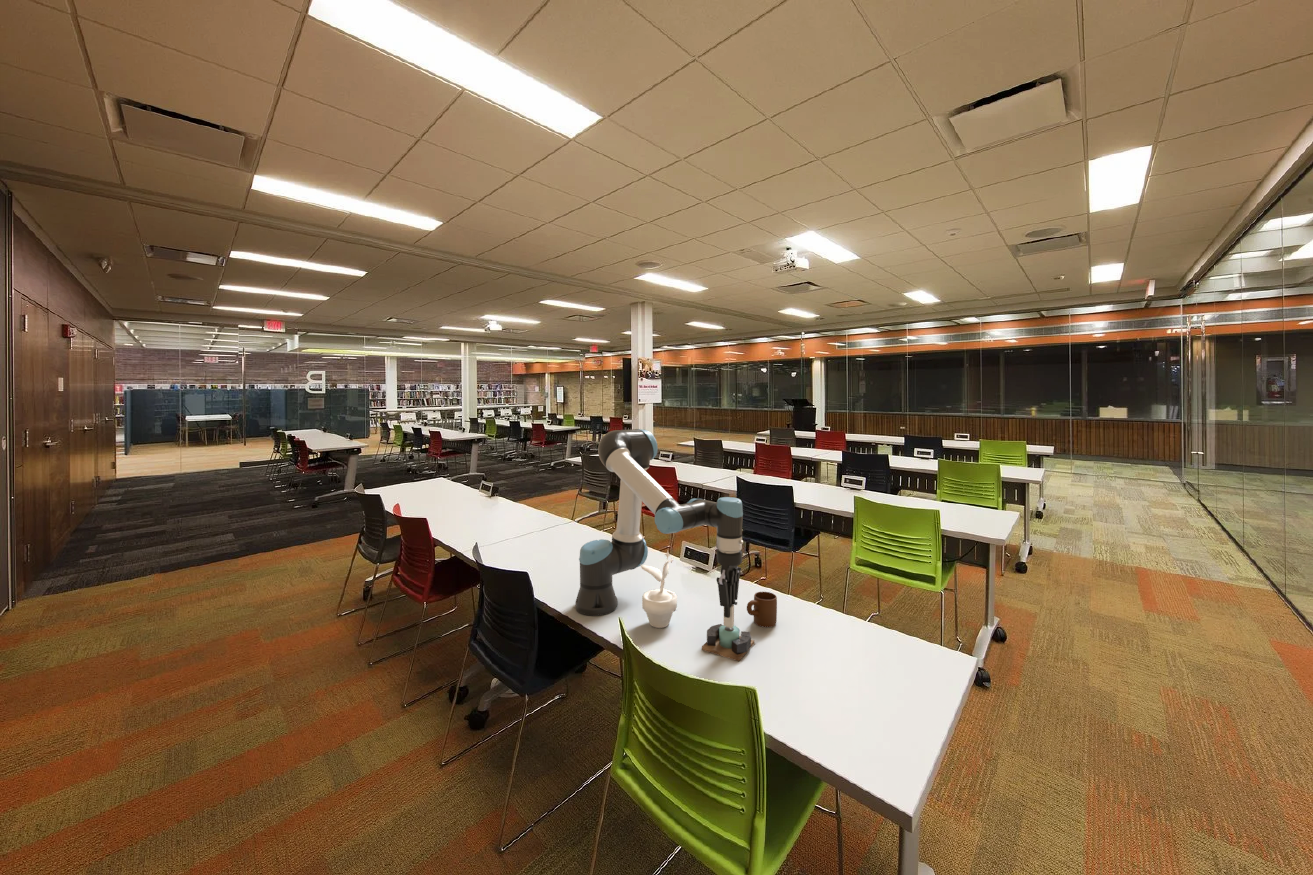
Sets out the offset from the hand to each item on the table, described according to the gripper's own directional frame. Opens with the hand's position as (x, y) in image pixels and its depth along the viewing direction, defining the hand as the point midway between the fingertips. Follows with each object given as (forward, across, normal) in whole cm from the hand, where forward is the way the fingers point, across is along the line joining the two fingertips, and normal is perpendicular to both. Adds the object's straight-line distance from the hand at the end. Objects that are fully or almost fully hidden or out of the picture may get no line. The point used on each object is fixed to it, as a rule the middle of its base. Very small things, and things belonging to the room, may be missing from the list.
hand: (728, 625), depth 143 cm
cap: (+5, 0, 0) cm, 5 cm away
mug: (+7, +19, -3) cm, 20 cm away
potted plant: (+7, +1, +26) cm, 27 cm away
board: (+6, 0, 0) cm, 6 cm away
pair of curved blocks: (+6, 0, 0) cm, 6 cm away
